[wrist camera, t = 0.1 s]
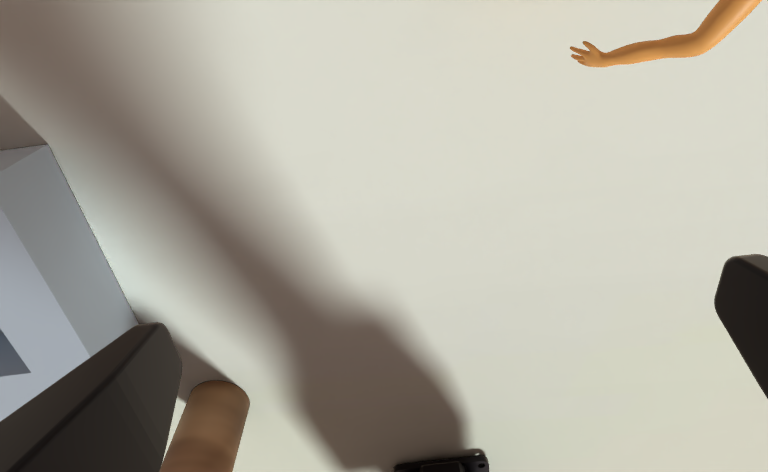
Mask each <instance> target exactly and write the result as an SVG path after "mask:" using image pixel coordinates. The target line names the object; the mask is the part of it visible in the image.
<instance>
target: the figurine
mask: <svg viewBox="0 0 768 472" xmlns="http://www.w3.org/2000/svg"><path fill="white" fill-rule="evenodd" d="M761 1H762V0H720V1H719V2H718V3H717V4H716V5H715V7H714V8H713V9H712V10H711V12H710V13H709V14H708V15H707V17H706V18H705V20H704V21H703V22H702V24H701V25H700V26H699V28H698V29H697V30H696V31H695V32H693V33H691V34H686V35H676V36H671V37H668V38H665V39H661V40H653V41H644V42H638V43H633V44H629V45H626V46H623V47H621V48H618V49H615V50H613V51H611V52H608V53H603V52H601V51H599V50H598V49H597V48H596V47H595V46H594V45H592V44H591V43H589V42H586V41H583V44H584V45H585V46H586V47H587V48H588V49H589V50H590V51H586V50H583V49H578V48H575V47H570V49H571V50H572V51H574V52H576V53H578V54H580V55H582V56H579V55H574V54H572V55H571V57H572V58H574V59H576V60H578V62H579V63H580V64H583V65H586V66H590V67H608V66H613V65H620V64H634V63H639V62H645V61H651V60H656V59H662V58H684V57H693V56H697V55H700V54H703V53H705V52H707V51H708V50H710V49H711V48H713V47H714V46H715V45H716V44H718V43H719V42H720V41H721V40H722V39H723V38H725V37H726V36H727V35H728V34H729V33H730V32H731V31H732V30H733V29H734V28H735V27H736V26H737V25H738V24H739V23H740V22H741V21H743V20H744V19H745V18H746V17H747V16H748V15H749V14H750V13H751V11H752V10H753V9H754V8H755V7H756V6H757V5H758V4H759V3H760V2H761Z"/></svg>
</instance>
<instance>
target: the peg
mask: <svg viewBox="0 0 768 472" xmlns="http://www.w3.org/2000/svg"><path fill="white" fill-rule="evenodd" d="M249 406H250V401H249V398H248V396H247V394H246V393H245V392H244V391H243V390H242V389H241V388H239V387H238V386H236V385H234V384H232V383H229V382H225V381H207V382H203V383H201V384H199V385H197V386H196V387H195V388H194V389H193V390H192V392H191V394H190V396H189V399H188V401H187V404H186V406H185V409H184V411H183V414H182V416H181V419H180V421H179V424H178V426H177V429H176V431H175V434H174V436H173V439H172V441H171V444H170V446H169V448H168V451H167V453H166V456H165V458H164V461H163V463H162V466H161V468H160V471H159V472H232V471H233V467H234V463H235V459H236V456H237V452H238V448H239V444H240V440H241V436H242V433H243V429H244V425H245V421H246V417H247V414H248V410H249Z"/></svg>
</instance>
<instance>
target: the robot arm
mask: <svg viewBox="0 0 768 472" xmlns="http://www.w3.org/2000/svg"><path fill="white" fill-rule="evenodd" d="M714 304H715V309H716V312H717V314H718V316H719V318H720V320H721V321H722V323H723V325H724V327H725V328H726V330H727V332H728V333H729V335H730V337H731V338H732V340H733V342H734V343H735V345H736V347H737V349H738V350H739V352H740V354H741V355H742V357H743V359H744V360H745V362H746V364H747V365H748V367H749V369H750V371H751V372H752V374H753V376H754V377H755V379H756V381H757V382H758V384H759V386H760V387H761V389H762V390H763V392H764V394H765V395H766V397H767V398H768V257H767V256H764V255H760V254H751V255H742V256H734V257H731V258H729V259H728V260H727V261H726V262H725V264H724V267H723V270H722V274H721V277H720V281H719V284H718V288H717V291H716V295H715V299H714ZM181 375H182V362H181V358H180V355H179V353H178V351H177V349H176V347H175V344H174V342H173V340H172V338H171V336H170V333H169V331H168V329H167V328H166V326H165V325H164V324H162V323H159V322H156V323H147V324H139V325H136V326H134V327H132V328H131V329H129V330H128V331H126V332H125V333H124V334H122V335H121V336H119V337H118V338H117V339H115V340H114V341H112V342H111V343H110V344H108V345H107V346H105V347H104V348H103V349H101V350H100V351H98V352H97V353H96V354H94V355H93V356H91V357H90V358H89V359H87V360H86V361H84V362H83V363H82V364H80V365H79V366H77V367H76V368H75V369H73V370H72V371H70V372H69V373H68V374H66V375H65V376H63V377H62V378H61V379H59V380H58V381H56V382H55V383H54V384H52V385H51V386H49V387H48V388H47V389H45V390H44V391H42V392H41V393H40V394H38V395H37V396H35V397H34V398H33V399H31V400H30V401H28V402H27V403H26V404H24V405H23V406H21V407H20V408H19V409H17V410H16V411H14V412H13V413H12V414H10V415H9V416H7V417H6V418H5V419H3V420H2V421H0V472H159V471H160V468H161V465H162V461H163V457H164V453H165V449H166V445H167V440H168V436H169V431H170V426H171V422H172V417H173V412H174V408H175V403H176V398H177V393H178V389H179V384H180V379H181ZM393 472H489V463H488V459H487V457H485V456H473V457H464V458H455V459H446V460H436V461H427V462H418V463H409V464H400V465H396V466H395V467H394V468H393Z"/></svg>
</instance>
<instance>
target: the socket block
mask: <svg viewBox="0 0 768 472" xmlns="http://www.w3.org/2000/svg"><path fill="white" fill-rule="evenodd" d="M136 325H139V324H138V322H137V320H136V318H135V316H134V314H133V312H132V310H131V308H130V306H129V304H128V302H127V300H126V298H125V296H124V294H123V292H122V290H121V288H120V286H119V284H118V282H117V280H116V278H115V276H114V274H113V272H112V270H111V268H110V266H109V264H108V262H107V260H106V258H105V256H104V254H103V252H102V250H101V248H100V246H99V244H98V242H97V240H96V239H95V237H94V235H93V233H92V231H91V229H90V227H89V225H88V223H87V221H86V219H85V217H84V215H83V213H82V211H81V209H80V207H79V205H78V203H77V201H76V199H75V197H74V195H73V193H72V191H71V189H70V187H69V185H68V183H67V181H66V179H65V177H64V175H63V173H62V171H61V169H60V167H59V165H58V163H57V161H56V159H55V157H54V155H53V153H52V151H51V149H50V147H49V145H48V144H45V145H38V146H31V147H24V148H16V149H9V150H2V151H0V421H2V420H3V419H5V418H6V417H7V416H9V415H10V414H12V413H13V412H14V411H16V410H17V409H19V408H20V407H21V406H23V405H24V404H26V403H27V402H28V401H30V400H31V399H33V398H34V397H35V396H37V395H38V394H40V393H41V392H42V391H44V390H45V389H47V388H48V387H49V386H51V385H52V384H54V383H55V382H56V381H58V380H59V379H61V378H62V377H63V376H65V375H66V374H68V373H69V372H70V371H72V370H73V369H75V368H76V367H77V366H79V365H80V364H82V363H83V362H84V361H86V360H87V359H89V358H90V357H91V356H93V355H94V354H96V353H97V352H98V351H100V350H101V349H103V348H104V347H105V346H107V345H108V344H110V343H111V342H112V341H114V340H115V339H117V338H118V337H119V336H121V335H122V334H124V333H125V332H126V331H128V330H129V329H131V328H132V327H134V326H136Z"/></svg>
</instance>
